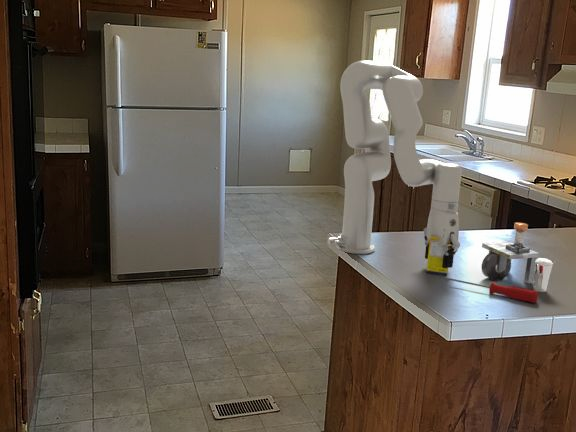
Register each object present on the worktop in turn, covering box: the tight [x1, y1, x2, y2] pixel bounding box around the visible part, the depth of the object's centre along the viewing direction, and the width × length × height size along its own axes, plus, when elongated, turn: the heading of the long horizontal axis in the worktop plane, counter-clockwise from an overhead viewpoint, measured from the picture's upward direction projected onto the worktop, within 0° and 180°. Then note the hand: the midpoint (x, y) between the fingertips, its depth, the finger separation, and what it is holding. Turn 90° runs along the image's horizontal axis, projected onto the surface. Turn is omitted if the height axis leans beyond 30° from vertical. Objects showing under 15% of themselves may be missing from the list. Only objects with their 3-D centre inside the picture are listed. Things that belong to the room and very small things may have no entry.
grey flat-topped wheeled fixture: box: [481, 241, 539, 285], centre depth 174 cm, size 13×12×10 cm
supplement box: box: [426, 235, 451, 276], centre depth 178 cm, size 6×6×11 cm
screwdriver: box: [442, 276, 539, 304], centre depth 163 cm, size 4×25×4 cm, turn 60°
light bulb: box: [513, 222, 529, 249], centre depth 171 cm, size 4×4×7 cm
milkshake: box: [532, 257, 556, 293], centre depth 166 cm, size 4×5×10 cm
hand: (438, 262), depth 178 cm, fingers open, 8 cm apart
